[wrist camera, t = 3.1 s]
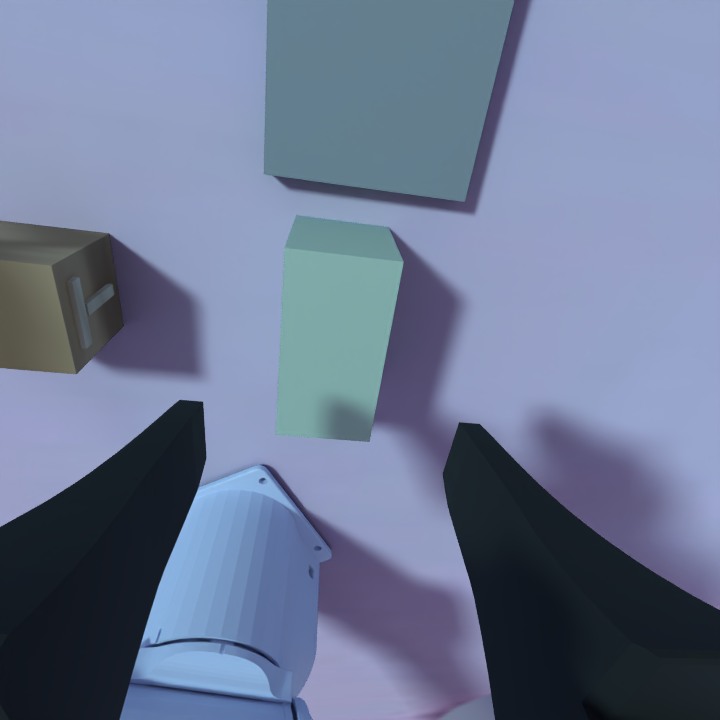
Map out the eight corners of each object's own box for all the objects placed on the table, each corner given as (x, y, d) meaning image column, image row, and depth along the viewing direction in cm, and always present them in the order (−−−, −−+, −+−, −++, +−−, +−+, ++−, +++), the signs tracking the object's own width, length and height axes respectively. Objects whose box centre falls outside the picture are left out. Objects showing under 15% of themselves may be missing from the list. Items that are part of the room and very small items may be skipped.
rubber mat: (278, -259, 12) (273, -288, 11) (551, -192, 13) (567, -213, 12) (267, 170, 17) (263, 174, 16) (458, 197, 18) (464, 202, 17)
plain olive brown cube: (114, 233, 18) (57, 266, 15) (128, 325, 21) (81, 374, 17) (-1, 219, 18) (-92, 250, 14) (25, 315, 20) (-47, 364, 16)
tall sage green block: (296, 214, 18) (284, 247, 14) (388, 226, 19) (403, 262, 15) (287, 371, 22) (275, 435, 18) (363, 378, 23) (369, 441, 19)
